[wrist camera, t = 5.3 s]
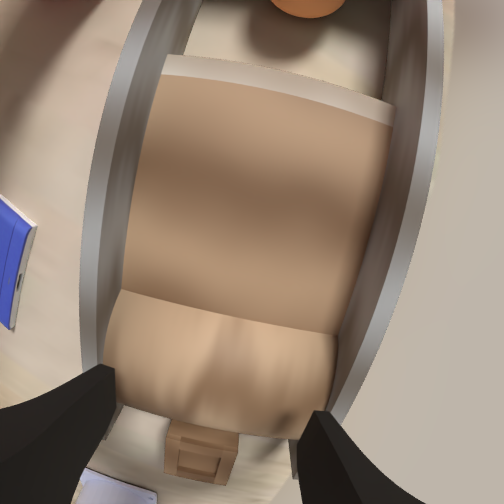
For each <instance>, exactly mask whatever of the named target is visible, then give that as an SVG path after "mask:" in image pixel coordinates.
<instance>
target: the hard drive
mask: <svg viewBox="0 0 504 504" xmlns="http://www.w3.org/2000/svg"><path fill="white" fill-rule="evenodd" d="M36 229H37V225H36V224H35V223H34V222H33V221H31V220H30V219H29V218H28V217H26V216H25V215H24V214H23V213H22V212H21V211H20V210H18V209H17V208H16V207H15V206H14V205H13V204H12V203H10V202H9V201H8V200H7V199H6V198H5V197H4V196H2V195H1V194H0V322H1V323H2V324H3V325H4V326H5V327H6V328H7V329H8V330H10V329H11V328H13V327H14V326H15V322H16V315H17V309H18V303H19V297H20V292H21V287H22V283H23V278H24V273H25V269H26V265H27V261H28V257H29V253H30V250H31V246H32V243H33V239H34V236H35V233H36Z"/></svg>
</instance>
